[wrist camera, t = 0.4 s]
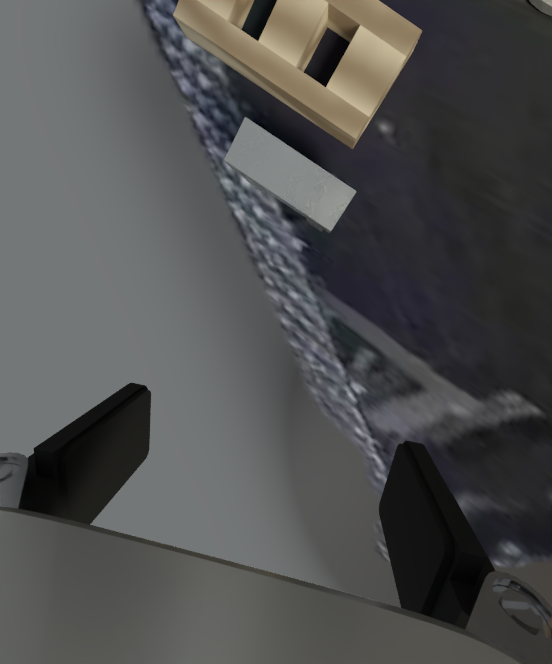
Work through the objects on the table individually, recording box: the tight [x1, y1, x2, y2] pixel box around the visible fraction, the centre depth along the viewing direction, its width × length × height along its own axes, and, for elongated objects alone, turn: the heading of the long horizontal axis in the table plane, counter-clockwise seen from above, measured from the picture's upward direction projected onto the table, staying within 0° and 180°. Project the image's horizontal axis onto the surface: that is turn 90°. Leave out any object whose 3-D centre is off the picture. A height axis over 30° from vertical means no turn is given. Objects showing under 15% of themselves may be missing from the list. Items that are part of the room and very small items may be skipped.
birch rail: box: [173, 0, 422, 149], centre depth 29 cm, size 10×22×3 cm, turn 58°
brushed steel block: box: [224, 117, 356, 233], centre depth 30 cm, size 4×12×8 cm, turn 58°
